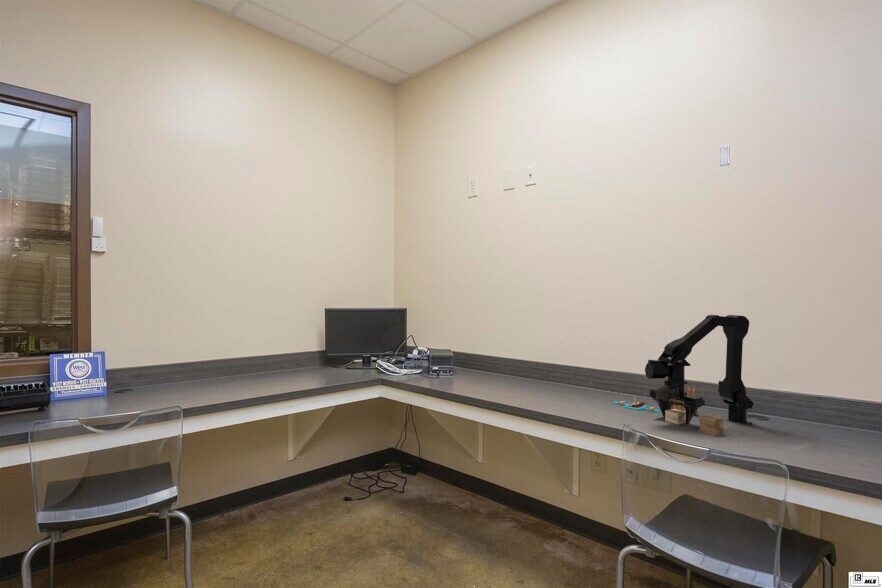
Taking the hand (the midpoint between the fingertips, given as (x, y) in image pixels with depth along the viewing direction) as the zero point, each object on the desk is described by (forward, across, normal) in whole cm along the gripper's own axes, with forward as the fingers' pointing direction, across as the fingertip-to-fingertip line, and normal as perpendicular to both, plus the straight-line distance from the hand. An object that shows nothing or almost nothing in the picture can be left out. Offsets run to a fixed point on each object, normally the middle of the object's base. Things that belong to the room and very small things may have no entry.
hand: (676, 420), depth 166 cm
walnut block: (0, +14, -1) cm, 14 cm away
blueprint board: (+1, +14, -1) cm, 14 cm away
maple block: (+2, 0, 0) cm, 2 cm away
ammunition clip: (+2, -7, +13) cm, 15 cm away
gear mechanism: (+2, -24, +8) cm, 25 cm away
